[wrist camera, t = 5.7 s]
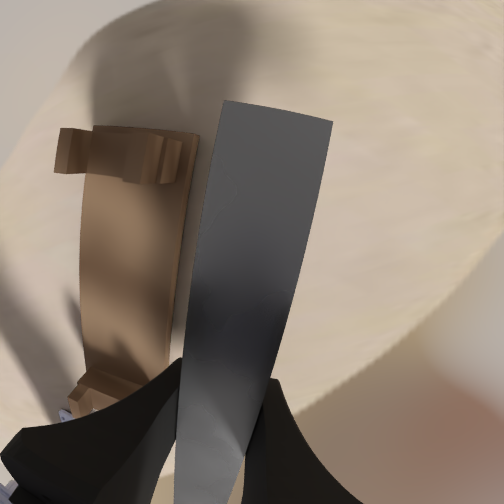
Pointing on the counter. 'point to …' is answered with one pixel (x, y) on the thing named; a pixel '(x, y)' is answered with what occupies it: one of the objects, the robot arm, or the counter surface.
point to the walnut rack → (126, 252)
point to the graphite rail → (242, 286)
